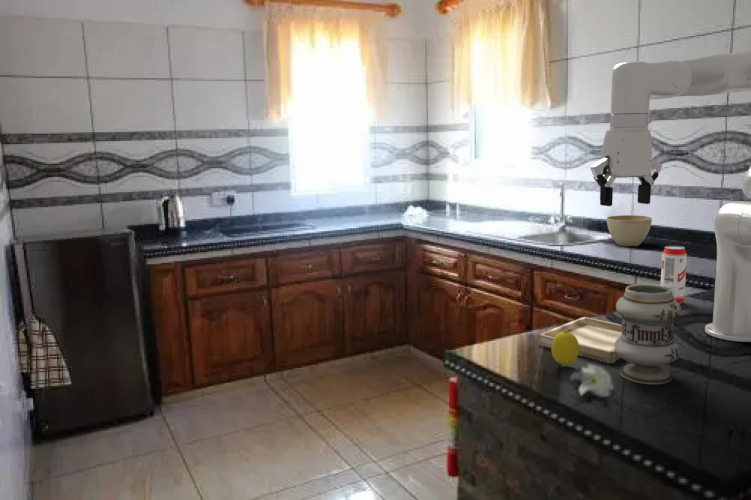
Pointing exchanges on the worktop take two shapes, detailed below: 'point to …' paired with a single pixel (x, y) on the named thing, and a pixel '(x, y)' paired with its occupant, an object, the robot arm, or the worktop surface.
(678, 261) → the beer can
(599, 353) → the birch tray
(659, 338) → the apothecary jar
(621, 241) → the beige bowl
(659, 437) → the worktop surface
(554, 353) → the lemon
